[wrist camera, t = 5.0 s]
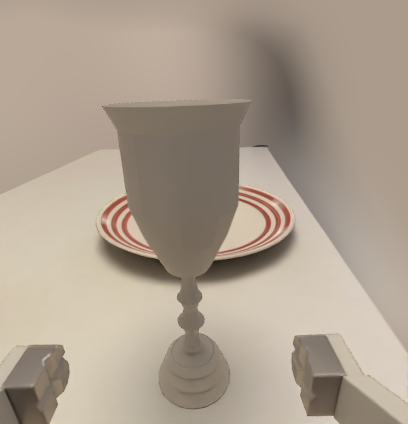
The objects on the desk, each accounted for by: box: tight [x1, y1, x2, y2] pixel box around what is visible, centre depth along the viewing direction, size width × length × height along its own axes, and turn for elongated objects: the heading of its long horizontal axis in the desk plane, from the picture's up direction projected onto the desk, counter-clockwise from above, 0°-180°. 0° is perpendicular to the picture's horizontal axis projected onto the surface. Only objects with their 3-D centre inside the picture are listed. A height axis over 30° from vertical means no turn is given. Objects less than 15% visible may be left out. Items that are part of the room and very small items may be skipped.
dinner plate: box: [96, 184, 295, 260], centre depth 42 cm, size 27×27×3 cm
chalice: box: [102, 99, 252, 409], centre depth 17 cm, size 7×7×18 cm
